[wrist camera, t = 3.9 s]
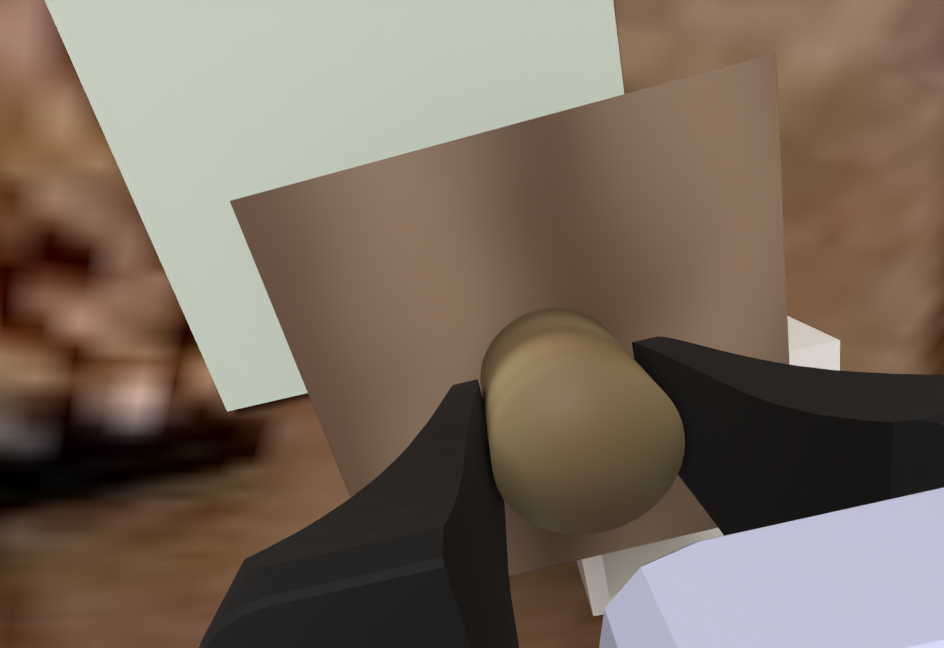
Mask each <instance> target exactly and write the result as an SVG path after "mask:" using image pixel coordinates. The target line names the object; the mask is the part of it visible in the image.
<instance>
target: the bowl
mask: <svg viewBox="0 0 944 648" xmlns="http://www.w3.org/2000/svg"><path fill="white" fill-rule="evenodd" d="M787 319H788V342H789V364H790V365H796V366H804V367H812V368H820V369H828V370H838V371H840V340H838V339H836V338H834V337H832V336H829V335H827V334H825V333H823V332H821V331H819V330H817V329H814V328H812V327H810V326H808V325H806V324H804V323H802V322H799V321H797V320H795V319H793V318H791V317H789V316H787ZM720 536H724V535H723V534H722V532H721V531H720V529H719V528H714V529H710V530H706V531H701V532H697V533H693V534H689V535H684V536H680V537H676V538H671V539H667V540H663V541H659V542H654V543H650V544H646V545H641V546H637V547H633V548H629V549H624V550H620V551H616V552H611V553H607V554H603V555H599V556H594V557H590V558H586V559H581V560H577V561H576V562H577V565H578V568H579V571H580V575H581V578H582V581H583V584H584V588H585V591H586V594H587V597H588V601H589V604H590V607H591V611H592V614H593V616H598V615H603V614H604V609H605V607H606V606H607V605H608V604H609V603H610V602H611V601H612V599H613V598H614V597H615V596H616V595H617V594H618V593H619V591H620V590H621V589H622V588H623V587H624V586H625V585H626V583H627V582H628V581H629V580H630V579H631V578H632V577H633V575H634V574H635V573H636V572H637V571H638V570H639V569H640V567H641V566H642V565H644V564H646V563H648V562H650V561H653V560H655V559H657V558H659V557H662V556H664V555H666V554H668V553H671V552H673V551H675V550H677V549H680V548H682V547H684V546H687V545H689V544H691V543H693V542H698V541H702V540H707V539H711V538H716V537H720Z"/></svg>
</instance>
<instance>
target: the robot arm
mask: <svg viewBox="0 0 944 648" xmlns="http://www.w3.org/2000/svg"><path fill="white" fill-rule="evenodd" d="M632 348H633V355H634V360H635V361H636V362H637V363H638V364H639V365H640V366H641V367H642V368H643V369H644V371H645V372H646V373H647V374H648V375H649V376H650V377H651V378H652V379H653V380H654V381H655V383H656V384H657V385H658V386H659V387H660V388H661V389H662V390H663V391H664V392H665V393H666V395H667V396H668V397H669V398H670V400H671V401H672V402H673V404H674V405H675V407H676V409H677V411H678V412H679V415H680V418H681V420H682V423H683V428H684V433H685V449H684V457H683V461H682V465H681V467H680V470H679V472H678V475H679V477H680V478H681V479H682V481H683V482H684V483H685V485H686V486H687V487H688V489H689V490H690V491H691V492H692V494H693V495H694V496H695V498H696V499H697V500H698V502H699V503H700V504H701V506H702V507H703V508H704V509H705V511H706V512H707V513H708V515H709V516H710V517H711V519H712V520H713V521H714V523H715V524H716V525H717V526H718V528H719V529H720V531H721V532H722V534H723V535H724V536H720V537H716V538H711V539H707V540H702V541H698V542H693V543H691V544H689V545H687V546H684V547H682V548H680V549H677V550H675V551H673V552H671V553H668V554H666V555H664V556H662V557H659V558H657V559H655V560H653V561H650V562H648V563H646V564H644V565H642V566H641V567H640V569H639V570H638V571H637V572H636V573H635V574H634V575H633V577H632V578H631V579H630V580H629V581H628V582H627V583H626V585H625V586H624V587H623V588H622V589H621V590H620V591H619V593H618V594H617V595H616V596H615V597H614V598H613V599H612V601H611V602H610V603H609V604H608V605H607V606H606V607H605V609H604V616H603V623H602V631H601V638H600V645H599V648H944V375H916V374H885V373H866V372H850V371H838V370H828V369H820V368H812V367H804V366H796V365H790V364H783V363H777V362H772V361H767V360H762V359H757V358H752V357H747V356H743V355H738V354H734V353H729V352H725V351H721V350H717V349H713V348H709V347H705V346H702V345H698V344H694V343H690V342H686V341H682V340H678V339H673V338H668V337H661V336H657V337H653V338H648V339H644V340H640V341H636V342H632ZM199 648H519V644H518V638H517V632H516V625H515V619H514V613H513V606H512V600H511V593H510V583H509V573H508V555H507V537H506V519H505V502H504V499H503V497H502V495H501V494H500V492H499V490H498V488H497V485H496V482H495V480H494V475H493V470H492V464H491V457H490V449H489V442H488V435H487V425H486V417H485V410H484V402H483V397H482V394H481V390H480V386H479V382H478V379H476V380H472V381H468V382H464V383H459V384H455V385H452V387H451V388H450V390H449V391H448V393H447V394H446V396H445V397H444V399H443V400H442V402H441V403H440V405H439V406H438V408H437V409H436V411H435V412H434V414H433V415H432V417H431V418H430V420H429V421H428V422H427V424H426V425H425V426H424V427H423V429H422V430H421V431H420V432H419V434H418V435H417V436H416V437H415V438H414V440H413V441H412V442H411V443H410V445H409V446H408V447H407V448H406V449H405V450H404V451H403V452H402V453H401V455H400V456H399V457H398V458H397V459H396V460H395V461H394V462H393V463H391V464H390V465H389V466H388V467H387V468H386V469H385V470H384V471H383V472H382V473H381V474H380V475H379V476H377V477H376V478H375V479H374V480H372V481H371V482H370V483H369V484H367V485H366V486H365V487H364V488H362V489H361V490H360V491H359V492H357V493H356V494H355V495H354V496H352V497H351V498H350V499H348V500H347V501H346V502H344V503H343V504H341V505H340V506H338V507H337V508H335V509H334V510H333V511H331V512H330V513H328V514H327V515H325V516H323V517H322V518H320V519H319V520H317V521H315V522H314V523H312V524H311V525H309V526H307V527H305V528H304V529H302V530H300V531H299V532H297V533H295V534H293V535H291V536H289V537H287V538H286V539H284V540H282V541H280V542H278V543H276V544H274V545H272V546H270V547H268V548H267V549H265V550H263V551H261V552H259V553H257V554H255V555H253V556H251V557H249V558H247V559H245V560H244V562H243V564H242V565H241V567H240V569H239V571H238V573H237V574H236V576H235V578H234V580H233V582H232V584H231V586H230V588H229V590H228V592H227V593H226V595H225V597H224V599H223V601H222V603H221V605H220V607H219V609H218V611H217V612H216V614H215V616H214V618H213V620H212V622H211V624H210V626H209V628H208V630H207V631H206V633H205V635H204V637H203V639H202V641H201V644H200V647H199Z"/></svg>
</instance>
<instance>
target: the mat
mask: <svg viewBox="0 0 944 648" xmlns="http://www.w3.org/2000/svg"><path fill="white" fill-rule="evenodd" d="M45 2H46V4H47V7H48V9H49V11H50V13H51V16H52V18H53V20H54V22H55V25H56V27H57V29H58V31H59V34H60V36H61V38H62V40H63V43H64V45H65V47H66V49H67V52H68V54H69V56H70V58H71V61H72V63H73V65H74V67H75V70H76V72H77V74H78V76H79V79H80V81H81V83H82V85H83V88H84V90H85V92H86V94H87V97H88V99H89V101H90V103H91V106H92V108H93V110H94V112H95V115H96V117H97V119H98V121H99V124H100V126H101V128H102V130H103V133H104V135H105V137H106V139H107V142H108V144H109V146H110V148H111V151H112V153H113V155H114V157H115V160H116V162H117V164H118V166H119V169H120V171H121V173H122V175H123V178H124V180H125V182H126V185H127V187H128V189H129V191H130V194H131V196H132V198H133V200H134V203H135V205H136V207H137V209H138V212H139V214H140V216H141V218H142V221H143V223H144V225H145V227H146V230H147V232H148V234H149V236H150V239H151V241H152V243H153V245H154V248H155V250H156V252H157V254H158V257H159V259H160V261H161V263H162V266H163V268H164V270H165V272H166V275H167V277H168V279H169V281H170V284H171V286H172V288H173V290H174V293H175V295H176V297H177V299H178V302H179V304H180V306H181V308H182V311H183V313H184V315H185V317H186V320H187V322H188V324H189V326H190V329H191V331H192V333H193V335H194V338H195V340H196V342H197V344H198V347H199V349H200V351H201V353H202V356H203V358H204V360H205V362H206V365H207V367H208V369H209V371H210V374H211V376H212V378H213V381H214V383H215V385H216V387H217V390H218V392H219V394H220V396H221V399H222V401H223V403H224V405H225V408H226V410H227V411H232V410H236V409H240V408H245V407H249V406H253V405H258V404H262V403H267V402H271V401H275V400H280V399H284V398H288V397H293V396H297V395H302V394H306V393H308V392H307V390H306V387H305V385H304V382H303V380H302V377H301V375H300V372H299V370H298V368H297V365H296V363H295V360H294V358H293V355H292V353H291V350H290V348H289V345H288V343H287V341H286V338H285V336H284V333H283V331H282V328H281V326H280V323H279V321H278V318H277V316H276V314H275V311H274V309H273V306H272V304H271V301H270V299H269V296H268V294H267V291H266V289H265V287H264V284H263V282H262V279H261V277H260V274H259V272H258V269H257V267H256V264H255V262H254V259H253V257H252V255H251V252H250V250H249V247H248V245H247V242H246V240H245V237H244V235H243V232H242V230H241V228H240V225H239V223H238V220H237V218H236V215H235V213H234V210H233V208H232V205H231V203H230V201H231V200H235V199H239V198H242V197H246V196H250V195H253V194H257V193H261V192H264V191H268V190H272V189H276V188H279V187H283V186H287V185H290V184H294V183H298V182H301V181H305V180H309V179H313V178H316V177H320V176H324V175H327V174H331V173H335V172H338V171H342V170H346V169H350V168H353V167H357V166H361V165H364V164H368V163H372V162H375V161H379V160H383V159H386V158H390V157H394V156H398V155H401V154H405V153H409V152H412V151H416V150H420V149H423V148H427V147H431V146H435V145H438V144H442V143H446V142H449V141H453V140H457V139H460V138H464V137H468V136H472V135H475V134H479V133H483V132H486V131H490V130H494V129H497V128H501V127H505V126H509V125H512V124H516V123H520V122H523V121H527V120H531V119H534V118H538V117H542V116H546V115H549V114H553V113H557V112H560V111H564V110H568V109H571V108H575V107H579V106H582V105H586V104H590V103H594V102H597V101H601V100H605V99H608V98H612V97H616V96H619V95H623V94H624V88H623V80H622V71H621V63H620V54H619V46H618V38H617V29H616V21H615V13H614V4H613V0H45Z"/></svg>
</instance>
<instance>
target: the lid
mask: <svg viewBox="0 0 944 648" xmlns="http://www.w3.org/2000/svg"><path fill="white" fill-rule="evenodd" d="M230 203H231V205H232V208H233V210H234V213H235V215H236V218H237V220H238V223H239V225H240V228H241V230H242V232H243V235H244V237H245V240H246V242H247V245H248V247H249V250H250V252H251V255H252V257H253V259H254V262H255V264H256V267H257V269H258V272H259V274H260V277H261V279H262V282H263V284H264V287H265V289H266V291H267V294H268V296H269V299H270V301H271V304H272V306H273V309H274V311H275V314H276V316H277V318H278V321H279V323H280V326H281V328H282V331H283V333H284V336H285V338H286V341H287V343H288V345H289V348H290V350H291V353H292V355H293V358H294V360H295V363H296V365H297V368H298V370H299V372H300V375H301V377H302V380H303V382H304V385H305V387H306V390H307V392H308V395H309V397H310V399H311V402H312V404H313V407H314V409H315V412H316V414H317V417H318V419H319V422H320V424H321V426H322V429H323V431H324V434H325V436H326V439H327V441H328V444H329V446H330V449H331V451H332V454H333V456H334V458H335V461H336V463H337V466H338V468H339V471H340V473H341V476H342V478H343V481H344V483H345V485H346V488H347V490H348V493H349V495H350V498H351V497H352V496H354V495H355V494H356V493H357V492H359V491H360V490H361V489H362V488H364V487H365V486H366V485H367V484H369V483H370V482H371V481H372V480H374V479H375V478H376V477H377V476H379V475H380V474H381V473H382V472H383V471H384V470H385V469H386V468H387V467H388V466H389V465H390V464H391V463H393V462H394V461H395V460H396V459H397V458H398V457H399V456H400V455H401V453H402V452H403V451H404V450H405V449H406V448H407V447H408V446H409V445H410V443H411V442H412V441H413V440H414V438H415V437H416V436H417V435H418V434H419V432H420V431H421V430H422V429H423V427H424V426H425V425H426V424H427V422H428V421H429V420H430V418H431V417H432V415H433V414H434V412H435V411H436V409H437V408H438V406H439V405H440V403H441V402H442V400H443V399H444V397H445V396H446V394H447V393H448V391H449V390H450V388H451V387H452V385H455V384H459V383H464V382H468V381H472V380H476V379H478V382H479V386H480V390H481V394H482V397H483V402H484V410H485V417H486V425H487V435H488V442H489V449H490V457H491V464H492V470H493V475H494V480H495V482H496V485H497V488H498V490H499V492H500V494H501V495H502V497H503V499H504V502H505V519H506V537H507V555H508V573H509V576H513V575H517V574H521V573H526V572H530V571H534V570H539V569H543V568H547V567H551V566H556V565H560V564H564V563H569V562H573V561H577V560H581V559H586V558H590V557H594V556H599V555H603V554H607V553H611V552H616V551H620V550H624V549H629V548H633V547H637V546H641V545H646V544H650V543H654V542H659V541H663V540H667V539H671V538H676V537H680V536H684V535H689V534H693V533H697V532H701V531H706V530H710V529H714V528H718V526H717V525H716V524H715V523H714V521H713V520H712V519H711V517H710V516H709V515H708V513H707V512H706V511H705V509H704V508H703V507H702V506H701V504H700V503H699V502H698V500H697V499H696V498H695V496H694V495H693V494H692V492H691V491H690V490H689V489H688V487H687V486H686V485H685V483H684V482H683V481H682V479H681V478H680V477H679V475H678V472H679V470H680V467H681V465H682V461H683V457H684V449H685V433H684V428H683V423H682V420H681V418H680V415H679V412H678V411H677V409H676V407H675V405H674V404H673V402H672V401H671V400H670V398H669V397H668V396H667V395H666V393H665V392H664V391H663V390H662V389H661V388H660V387H659V386H658V385H657V384H656V383H655V381H654V380H653V379H652V378H651V377H650V376H649V375H648V374H647V373H646V372H645V371H644V369H643V368H642V367H641V366H640V365H639V364H638V363H637V362H636V361H635V360H634V355H633V348H632V342H636V341H640V340H644V339H648V338H653V337H657V336H661V337H668V338H673V339H678V340H682V341H686V342H690V343H694V344H698V345H702V346H705V347H709V348H713V349H717V350H721V351H725V352H729V353H734V354H738V355H743V356H747V357H752V358H757V359H762V360H767V361H772V362H777V363H783V364H789V342H788V319H787V295H786V271H785V248H784V224H783V200H782V177H781V153H780V129H779V106H778V82H777V59H776V53H775V54H771V55H767V56H764V57H760V58H756V59H753V60H749V61H745V62H742V63H738V64H734V65H730V66H727V67H723V68H719V69H716V70H712V71H708V72H705V73H701V74H697V75H693V76H690V77H686V78H682V79H679V80H675V81H671V82H668V83H664V84H660V85H656V86H653V87H649V88H645V89H642V90H638V91H634V92H631V93H627V94H623V95H619V96H616V97H612V98H608V99H605V100H601V101H597V102H594V103H590V104H586V105H582V106H579V107H575V108H571V109H568V110H564V111H560V112H557V113H553V114H549V115H546V116H542V117H538V118H534V119H531V120H527V121H523V122H520V123H516V124H512V125H509V126H505V127H501V128H497V129H494V130H490V131H486V132H483V133H479V134H475V135H472V136H468V137H464V138H460V139H457V140H453V141H449V142H446V143H442V144H438V145H435V146H431V147H427V148H423V149H420V150H416V151H412V152H409V153H405V154H401V155H398V156H394V157H390V158H386V159H383V160H379V161H375V162H372V163H368V164H364V165H361V166H357V167H353V168H350V169H346V170H342V171H338V172H335V173H331V174H327V175H324V176H320V177H316V178H313V179H309V180H305V181H301V182H298V183H294V184H290V185H287V186H283V187H279V188H276V189H272V190H268V191H264V192H261V193H257V194H253V195H250V196H246V197H242V198H239V199H235V200H231V201H230Z"/></svg>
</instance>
